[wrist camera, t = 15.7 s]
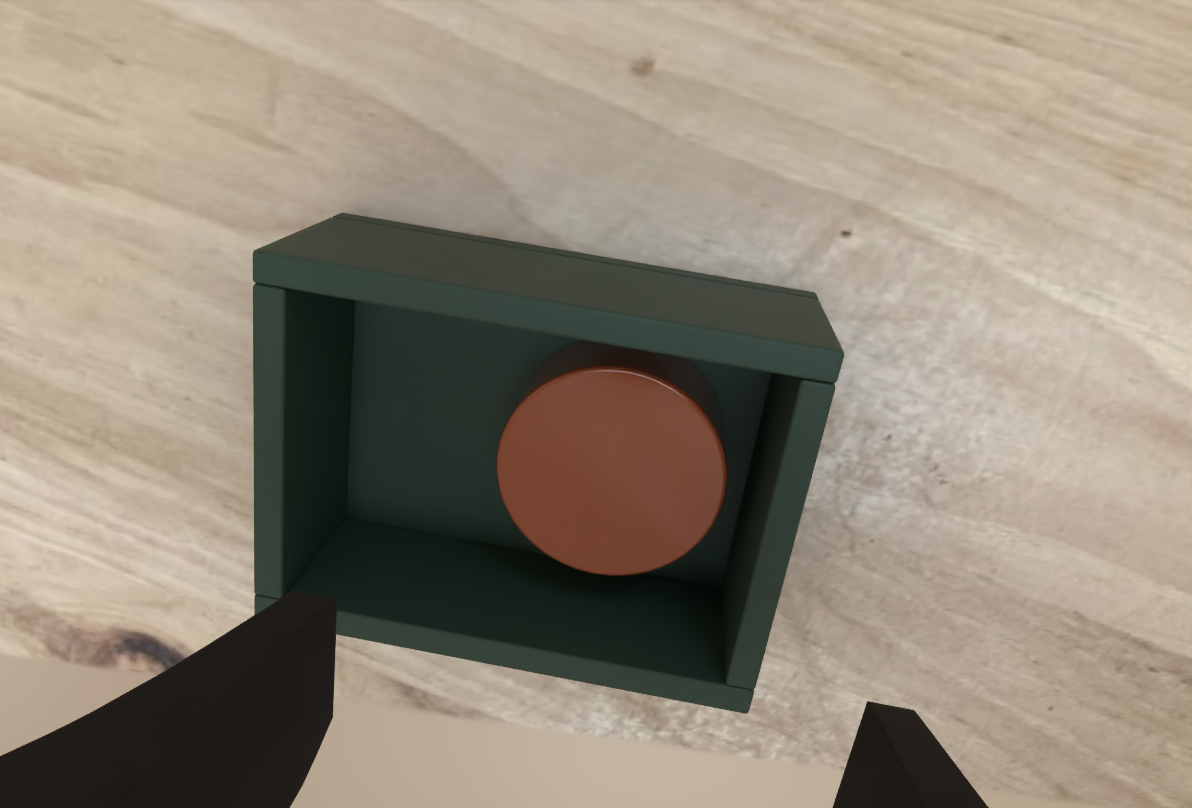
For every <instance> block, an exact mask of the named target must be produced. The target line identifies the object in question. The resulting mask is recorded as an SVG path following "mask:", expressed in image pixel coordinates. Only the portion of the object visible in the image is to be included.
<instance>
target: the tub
mask: <svg viewBox="0 0 1192 808" xmlns="http://www.w3.org/2000/svg"><path fill="white" fill-rule="evenodd" d="M253 281H254V282H255V283H256V284H254V286H253V379H254V582H255V594H256V595H255V615H256V614H257V613H259V612H260V611H262V610H264V609H265V608H267V607H268V606H270V605H271V604H273V603H275V602H276V601H278V600H279V599H281V598H282V597H284V596H286V595H287V594H289V593H291V592H292V591H294V590H295V591H301V592H306V593H311V594H316V595H321V596H326V597H332V598H337V621H336V634H338V635H343V636H348V637H353V638H358V639H363V640H369V641H374V642H379V643H384V644H389V645H394V646H400V647H405V648H410V649H415V650H420V651H425V652H430V653H436V654H441V655H446V656H451V657H456V658H461V659H467V660H472V661H477V662H482V663H487V664H492V665H498V666H503V667H508V668H513V669H518V670H523V671H529V672H534V673H539V674H544V675H549V676H554V677H560V678H565V679H570V680H575V681H580V682H585V683H591V684H596V685H601V686H606V687H611V688H616V689H621V690H627V691H632V692H637V693H642V694H647V695H652V696H658V697H663V698H668V699H673V700H678V701H683V702H689V703H694V704H699V705H704V706H709V707H714V708H720V709H725V710H730V711H735V712H740V713H748V711H749V709H750V705H751V702H752V698H753V694H754V688H755V687H756V683H757V679H758V676H759V672H760V668H761V664H762V661H763V657H764V653H765V649H766V646H767V642H768V638H769V634H770V631H771V627H772V623H773V619H774V616H775V612H776V608H777V604H778V601H779V597H780V593H781V589H782V586H783V582H784V578H785V575H786V571H787V567H788V563H789V560H790V556H791V552H792V548H793V545H794V541H795V537H796V533H797V530H798V526H799V522H800V518H801V515H802V511H803V507H804V503H805V500H806V496H807V492H808V488H809V485H810V481H811V477H812V474H813V470H814V466H815V462H816V459H817V455H818V451H819V447H820V444H821V440H822V436H823V432H824V429H825V425H826V421H827V417H828V414H829V410H830V406H831V402H832V399H833V395H834V391H835V384H834V383H836V381H837V380H838V376H839V372H840V369H841V365H842V361H843V357H844V351H843V349H842V347H841V345H840V343H839V341H838V339H837V337H836V335H835V333H834V331H833V329H832V327H831V325H830V323H829V321H828V318H827V316H826V314H825V312H824V310H823V308H822V306H821V304H820V302H819V300H818V297H817V295H816V294H815V293H813V292H807V291H801V290H795V289H789V288H783V287H777V286H771V285H765V284H759V283H753V282H748V281H742V280H736V279H730V278H724V277H718V276H712V275H706V274H700V273H694V272H688V271H682V270H676V269H671V268H665V267H659V266H653V265H647V264H641V263H635V262H629V261H623V260H617V259H611V258H605V257H599V256H594V255H588V254H582V253H576V252H570V251H564V250H558V249H552V248H546V247H540V246H534V245H528V244H522V243H517V242H511V241H505V240H499V239H493V238H487V237H481V236H475V235H469V234H463V233H457V232H451V231H445V230H440V229H434V228H428V227H422V226H416V225H410V224H404V223H398V222H392V221H386V220H380V219H374V218H368V217H363V216H357V215H351V214H345V213H340V214H338V215H335V216H333V217H332V218H329V219H327V220H324V221H322V222H320V223H317V224H315V225H313V226H310V227H308V228H306V229H303V230H301V231H299V232H296V233H294V234H291V235H289V236H287V237H284V238H282V239H280V240H277V241H275V242H273V243H270V244H268V245H266V246H263V247H261V248H259V249H256V250H254V252H253ZM580 340H586V341H592V342H598V343H603V344H609V345H615V346H621V347H626V348H632V349H638V350H644V351H649V352H655V353H661V354H667V355H672V356H678V357H684V358H687V359H688V360H689V361H690V362H691V363H692V364H693V365H694V366H695V367H697V368H698V369H699V371H700V372H701V373H702V374H703V375H704V377H705V378H706V379H707V381H708V382H709V384H710V385H711V387H712V389H713V390H714V392H715V394H716V397H717V399H718V401H719V403H720V407H721V410H722V414H723V419H724V426H725V438H726V454H727V488H726V495H725V499H724V502H723V505H722V508H721V511H720V513H719V515H718V517H717V519H716V521H715V523H714V524H713V526H712V527H711V529H710V530H709V532H708V533H707V534H706V536H705V537H704V538H703V539H702V540H701V541H700V542H699V543H698V544H697V545H696V546H695V547H694V548H693V549H691V550H690V551H689V552H688V553H687V554H685V555H684V556H682V557H681V558H679V559H678V560H676V561H674V562H672V563H670V564H668V565H666V566H664V567H661V568H658V569H655V570H652V571H649V572H645V573H640V574H634V575H624V576H611V575H600V574H593V573H589V572H585V571H581V570H578V569H575V568H572V567H570V566H567V565H565V564H563V563H561V562H559V561H557V560H555V559H553V558H551V557H550V556H548V555H547V554H545V553H544V552H542V551H541V550H540V549H538V548H537V547H536V546H535V545H534V544H532V543H531V542H530V541H529V540H528V539H527V538H526V536H525V535H524V534H523V533H522V532H521V531H520V530H519V528H518V527H517V526H516V524H515V523H514V521H513V520H512V518H511V516H510V514H509V513H508V511H507V509H506V507H505V504H504V502H503V499H502V497H501V494H500V490H499V486H498V482H497V472H496V459H497V450H498V445H499V440H500V437H501V434H502V431H503V429H504V426H505V425H506V423H507V421H508V419H509V417H510V415H511V413H512V411H513V409H514V407H515V406H516V404H517V402H518V400H519V398H520V396H521V394H522V393H523V391H524V389H525V387H526V385H527V383H528V381H529V380H530V379H531V377H532V376H533V374H534V373H535V371H536V370H537V369H538V368H539V367H540V366H541V365H542V364H543V363H544V362H545V361H546V360H547V359H548V358H550V357H551V356H552V355H553V354H555V353H556V352H558V351H559V350H561V349H563V348H564V347H566V346H568V345H570V344H573V343H575V342H577V341H580Z"/></svg>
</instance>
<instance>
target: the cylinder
mask: <svg viewBox="0 0 1192 808" xmlns="http://www.w3.org/2000/svg"><path fill="white" fill-rule="evenodd" d="M496 472H497V482H498V486H499V490H500V494H501V497H502V499H503V502H504V504H505V507H506V509H507V511H508V513H509V514H510V516H511V518H512V520H513V521H514V523H515V524H516V526H517V527H518V528H519V530H520V531H521V532H522V533H523V534H524V535H525V536H526V538H527V539H528V540H529V541H530V542H531V543H532V544H534V545H535V546H536V547H537V548H538V549H540V550H541V551H542V552H544V553H545V554H547V555H548V556H550V557H551V558H553V559H555V560H557V561H559V562H561V563H563V564H565V565H567V566H570V567H572V568H575V569H578V570H581V571H585V572H589V573H593V574H600V575H611V576H624V575H634V574H640V573H645V572H649V571H652V570H655V569H658V568H661V567H664V566H666V565H668V564H670V563H672V562H674V561H676V560H678V559H679V558H681V557H682V556H684V555H685V554H687V553H688V552H689V551H690V550H691V549H693V548H694V547H695V546H696V545H697V544H698V543H699V542H700V541H701V540H702V539H703V538H704V537H705V536H706V534H707V533H708V532H709V530H710V529H711V527H712V526H713V524H714V523H715V521H716V519H717V517H718V515H719V513H720V511H721V508H722V505H723V502H724V499H725V495H726V488H727V454H726V438H725V426H724V419H723V414H722V410H721V407H720V403H719V401H718V399H717V397H716V394H715V392H714V390H713V389H712V387H711V385H710V384H709V382H708V381H707V379H706V378H705V377H704V375H703V374H702V373H701V372H700V371H699V369H698V368H697V367H695V366H694V365H693V364H692V363H691V362H690V361H689V360H688V359H687V358H684V357H678V356H672V355H667V354H661V353H655V352H649V351H644V350H638V349H632V348H626V347H621V346H615V345H609V344H603V343H598V342H592V341H586V340H580V341H577V342H575V343H573V344H570V345H568V346H566V347H564V348H563V349H561V350H559V351H558V352H556V353H555V354H553V355H552V356H551V357H550V358H548V359H547V360H546V361H545V362H544V363H543V364H542V365H541V366H540V367H539V368H538V369H537V370H536V371H535V373H534V374H533V376H532V377H531V379H530V380H529V381H528V383H527V385H526V387H525V389H524V391H523V393H522V394H521V396H520V398H519V400H518V402H517V404H516V406H515V407H514V409H513V411H512V413H511V415H510V417H509V419H508V421H507V423H506V425H505V426H504V429H503V431H502V434H501V437H500V440H499V445H498V450H497V459H496Z"/></svg>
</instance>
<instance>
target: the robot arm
mask: <svg viewBox="0 0 1192 808" xmlns="http://www.w3.org/2000/svg"><path fill="white" fill-rule="evenodd" d="M336 621H337V598H332V597H326V596H321V595H316V594H311V593H306V592H301V591H295V590H294V591H292V592H291V593H289V594H287V595H286V596H284V597H282V598H281V599H279V600H278V601H276V602H275V603H273V604H271V605H270V606H268V607H267V608H265V609H264V610H262V611H260V612H259V613H257V614H256V615H254V616H253V617H251V618H249V619H248V620H246V621H245V622H243V623H242V624H240V625H238V626H237V627H235V628H234V629H232V630H231V631H229V632H227V633H226V634H224V635H223V636H221V637H220V638H218V639H216V640H215V641H213V642H212V643H210V644H209V645H207V646H205V647H204V648H202V649H200V650H199V651H197V652H196V653H194V654H192V655H191V656H189V657H187V658H186V659H184V660H183V661H181V662H179V663H178V664H176V665H174V666H173V667H171V668H169V669H168V670H166V671H164V672H163V673H161V674H159V675H157V676H156V677H154V678H152V679H150V680H148V681H147V682H145V683H143V684H141V685H139V686H138V687H136V688H134V689H132V690H130V691H129V692H127V693H126V694H123V695H122V696H120V697H118V698H116V699H114V700H113V701H111V702H109V703H107V704H105V705H104V706H102V707H100V708H98V709H97V710H95V711H93V712H91V713H89V714H87V715H85V716H83V717H81V718H80V719H77V720H75V721H74V722H72V723H70V724H68V725H65V726H64V727H61V728H59V729H57V730H55V731H53V732H51V733H49V734H47V735H45V736H43V737H41V738H39V739H37V740H35V741H32V742H30V743H28V744H26V745H23V746H21V747H19V748H17V749H15V750H13V751H10V752H8V753H6V754H4V755H2V756H0V808H290V806H291V804H292V803H293V801H294V799H295V797H296V796H297V794H298V792H299V791H300V789H301V787H302V785H303V783H304V781H305V779H306V777H307V774H308V772H309V770H310V768H311V766H312V763H313V761H314V759H315V757H316V755H317V752H318V750H319V748H320V745H321V743H322V741H323V739H324V736H325V734H326V732H327V729H328V727H329V725H330V722H331V720H332V718H333V699H334V673H335V647H336ZM833 808H988V806H987V805H986V804H985V802H984V801H983V800H982V799H981V797H980V796H979V795H978V793H977V792H976V791H975V790H974V788H973V787H972V786H971V784H970V783H969V782H968V780H967V779H966V778H965V776H964V775H963V774H962V772H961V771H960V770H959V768H958V767H957V766H956V764H955V763H954V762H953V760H952V759H951V758H950V756H949V755H948V754H947V753H946V751H945V750H944V749H943V747H942V746H941V745H940V743H939V742H938V741H937V739H936V738H935V737H934V735H933V734H932V733H931V731H930V730H929V729H928V727H927V726H926V725H925V723H924V722H923V721H922V720H921V718H920V717H919V716H918V715H917V713H916V712H915V711H914V710H910V709H905V708H900V707H894V706H889V705H884V704H879V703H874V702H869V701H867V704H866V707H865V710H864V713H863V716H862V719H861V723H860V726H859V729H858V732H857V735H856V738H855V741H854V744H853V747H852V750H851V753H850V756H849V759H848V762H847V765H846V768H845V771H844V774H843V777H842V780H841V784H840V787H839V790H838V793H837V796H836V799H835V802H834V805H833Z"/></svg>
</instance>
